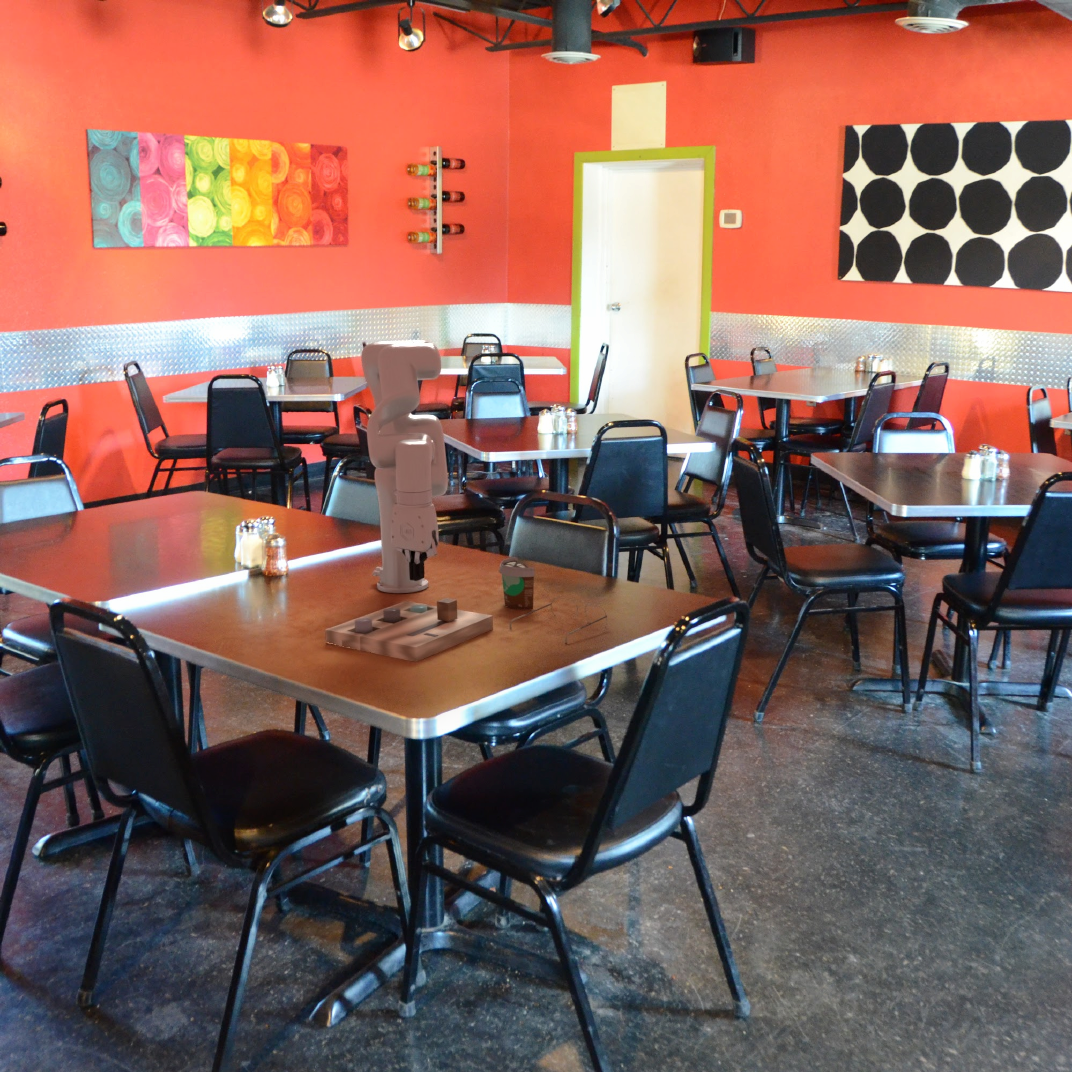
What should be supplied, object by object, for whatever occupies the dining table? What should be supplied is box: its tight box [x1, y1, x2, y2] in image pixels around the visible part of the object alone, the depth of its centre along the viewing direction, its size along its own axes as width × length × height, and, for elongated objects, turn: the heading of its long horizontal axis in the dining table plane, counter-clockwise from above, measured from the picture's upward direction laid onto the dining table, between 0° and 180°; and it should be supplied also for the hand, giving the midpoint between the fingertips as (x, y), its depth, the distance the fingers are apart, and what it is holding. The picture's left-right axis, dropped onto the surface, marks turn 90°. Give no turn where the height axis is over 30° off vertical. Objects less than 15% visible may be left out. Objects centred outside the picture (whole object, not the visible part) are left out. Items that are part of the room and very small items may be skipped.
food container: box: [498, 556, 536, 611], centre depth 267 cm, size 12×6×10 cm, turn 21°
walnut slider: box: [436, 597, 458, 622], centre depth 245 cm, size 3×3×4 cm
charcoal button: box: [383, 607, 401, 624], centre depth 247 cm, size 4×4×3 cm
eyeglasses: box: [508, 596, 608, 644], centre depth 249 cm, size 16×15×5 cm
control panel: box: [325, 600, 494, 663], centre depth 245 cm, size 24×26×3 cm
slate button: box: [355, 617, 373, 634], centre depth 240 cm, size 4×4×3 cm
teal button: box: [411, 605, 427, 614], centre depth 255 cm, size 4×4×3 cm
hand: (417, 579), depth 254 cm, fingers closed
